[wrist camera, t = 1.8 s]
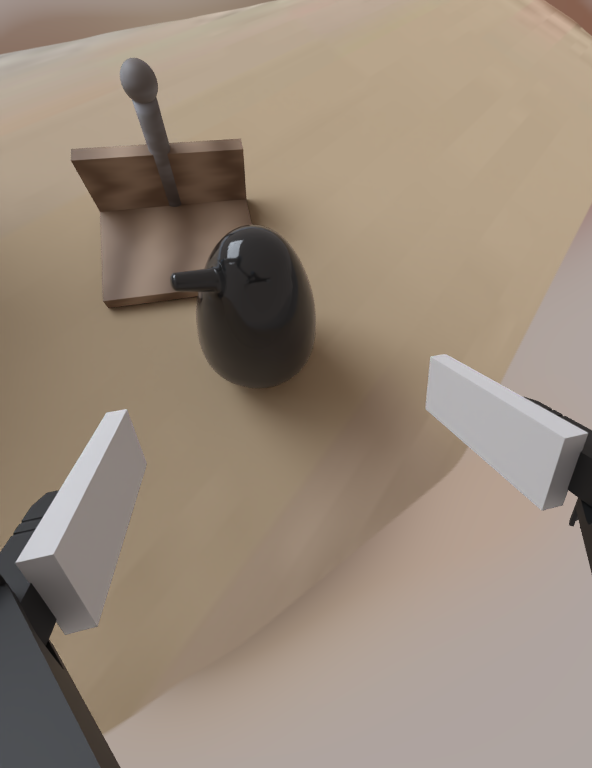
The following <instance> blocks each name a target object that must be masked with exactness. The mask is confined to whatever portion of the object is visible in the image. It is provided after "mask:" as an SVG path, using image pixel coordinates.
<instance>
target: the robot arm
mask: <svg viewBox="0 0 592 768" xmlns="http://www.w3.org/2000/svg"><path fill="white" fill-rule="evenodd" d="M426 410H427V411H428V412H430V413H431V414H432V415H433V416H434V417H435V418H436V419H438V420H439V421H440V422H441V423H442V424H443V425H444V426H446V427H447V428H448V429H449V430H450V431H451V432H452V433H454V434H455V435H456V436H457V437H458V438H459V439H460V440H462V441H463V442H464V443H465V444H466V445H467V446H468V447H470V448H471V449H472V450H473V451H474V452H475V453H476V454H478V455H479V456H480V457H481V458H482V459H483V460H484V461H486V462H487V463H488V464H489V465H490V466H491V467H493V468H494V469H495V470H496V471H497V472H498V473H499V474H501V475H502V476H503V477H504V478H505V479H506V480H507V481H509V482H510V483H511V484H512V485H513V486H514V487H515V488H517V489H518V490H519V491H520V492H521V493H523V495H525V496H526V497H527V498H528V499H529V500H530V501H531V502H533V503H534V504H535V505H536V506H537V507H538V508H539V509H541V510H546V509H550V508H554V507H558V506H562V505H563V503H564V500H565V497H566V495H567V492H568V490H569V491H570V492H572V493H573V494H575V495H576V496H577V497H578V500H577V502H576V505H575V507H574V510H573V513H572V515H571V518H570V522H569V525H570V526H574V524H575V521H577V520H579V523H580V528H581V532H582V536H583V540H584V544H585V548H586V552H587V556H588V560H589V564H590V568H591V572H592V430H590V429H588V428H586V427H584V426H583V425H581V424H579V423H577V422H575V421H574V420H572V419H570V418H568V417H566V416H563V415H562V414H561V413H559V412H557V411H555V410H552V409H551V408H549V407H548V406H546V405H544V404H542V403H540V402H538V401H535V400H532V399H529V398H526V397H523V396H521V395H519V394H517V393H515V392H513V391H511V390H510V389H508V388H506V387H504V386H503V385H501V384H499V383H497V382H495V381H494V380H492V379H490V378H488V377H486V376H485V375H483V374H481V373H479V372H477V371H475V370H474V369H472V368H470V367H468V366H466V365H465V364H463V363H461V362H459V361H457V360H456V359H454V358H452V357H450V356H448V355H447V354H443V355H437V356H431V357H430V366H429V376H428V387H427V398H426ZM146 465H147V463H146V460H145V457H144V454H143V452H142V449H141V446H140V443H139V441H138V438H137V435H136V432H135V430H134V427H133V424H132V421H131V419H130V416H129V413H128V410H127V409H124V410H118V411H113V412H107V413H106V414H105V416H104V418H103V419H102V421H101V423H100V424H99V426H98V427H97V429H96V431H95V432H94V434H93V436H92V437H91V439H90V441H89V442H88V444H87V446H86V447H85V449H84V451H83V452H82V454H81V455H80V457H79V459H78V460H77V462H76V464H75V465H74V467H73V469H72V470H71V472H70V474H69V475H68V477H67V478H66V480H65V482H64V483H63V485H62V487H61V488H60V490H58V491H53V492H48V493H46V494H45V495H44V496H43V497H41V498H40V499H39V500H38V501H37V502H36V503H35V504H34V505H32V506H31V508H30V509H29V511H28V512H27V514H26V515H25V517H24V518H23V520H22V523H21V524H19V525H18V527H17V528H16V530H15V531H14V533H13V534H14V535H13V536H11V537H10V539H9V540H8V542H7V543H6V545H5V546H4V548H3V549H2V551H1V552H0V768H120V766H119V764H118V762H117V761H116V759H115V757H114V755H113V753H112V751H111V750H110V748H109V746H108V744H107V742H106V740H105V739H104V737H103V735H102V733H101V731H100V729H99V728H98V726H97V724H96V722H95V720H94V719H93V717H92V715H91V713H90V711H89V709H88V708H87V706H86V704H85V702H84V700H83V699H82V697H81V695H80V693H79V691H78V689H77V688H76V686H75V684H74V682H73V680H72V678H71V677H70V675H69V673H68V671H67V669H66V668H65V666H64V664H63V662H62V660H61V658H60V657H59V655H58V653H57V651H56V649H55V648H54V646H53V644H52V643H51V642H50V640H49V637H50V635H51V633H52V630H53V628H54V625H55V623H56V622H57V624H58V625H59V627H60V628H61V629H62V631H63V632H64V634H65V635H67V634H71V633H75V632H78V631H82V630H86V629H90V628H94V627H98V623H99V620H100V617H101V613H102V610H103V607H104V604H105V600H106V597H107V594H108V590H109V587H110V584H111V580H112V577H113V574H114V571H115V567H116V564H117V561H118V557H119V554H120V551H121V548H122V544H123V541H124V538H125V534H126V531H127V528H128V525H129V521H130V518H131V515H132V511H133V508H134V505H135V502H136V498H137V495H138V492H139V488H140V485H141V482H142V479H143V475H144V472H145V469H146Z"/></svg>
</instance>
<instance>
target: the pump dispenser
mask: <svg viewBox="0 0 592 768" xmlns="http://www.w3.org/2000/svg"><path fill="white" fill-rule="evenodd" d="M170 284H171V287H172V289H173V290H174V291H176V292H198V296H197V306H196V321H197V331H198V337H199V342H200V346H201V349H202V351H203V354H204V356H205V358H206V360H207V362H208V363H209V365H210V366H211V367H212V368H213V369H214V370H215V371H216V372H217V373H218V374H219V375H220V376H221V377H223V378H224V379H226V380H228V381H230V382H232V383H234V384H237V385H240V386H243V387H249V388H266V387H272V386H276V385H279V384H281V383H283V382H285V381H287V380H289V379H291V378H292V377H294V376H295V375H296V374H297V373H298V372H299V371H300V370H301V369H302V368H303V367H304V366H305V364H306V363H307V361H308V359H309V357H310V355H311V352H312V349H313V345H314V341H315V331H316V314H315V304H314V298H313V293H312V289H311V286H310V283H309V280H308V277H307V274H306V272H305V270H304V267H303V265H302V263H301V261H300V259H299V257H298V256H297V254H296V252H295V251H294V249H293V248H292V247H291V245H290V244H289V243H288V242H287V241H286V240H285V239H284V238H283V237H282V236H281V235H280V234H278V233H277V232H275V231H274V230H272V229H270V228H267V227H264V226H260V225H245V226H241V227H238V228H236V229H233V230H232V231H230V232H229V233H227V234H226V235H225V236H224V237H223V238H222V239H221V240H220V241H219V242H218V243H217V245H216V246H215V247H214V249H213V250H212V252H211V254H210V256H209V258H208V260H207V263H206V265H205V268H204V269H200V270H192V271H184V272H177V273H172V274H171V276H170Z"/></svg>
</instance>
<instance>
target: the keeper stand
mask: <svg viewBox="0 0 592 768" xmlns="http://www.w3.org/2000/svg"><path fill="white" fill-rule="evenodd" d="M120 80H121V84H122V86H123V89H124V90H125V92H126V94H127V95H128V96H129V97H130V98H131V99H132V101H133V104H134V107H135V110H136V113H137V116H138V119H139V122H140V125H141V128H142V131H143V134H144V137H145V140H146V143H147V145H131V146H114V147H98V148H82V149H71V161H72V163H73V165H74V167H75V168H76V170H77V172H78V174H79V175H80V177H81V179H82V181H83V183H84V184H85V186H86V188H87V190H88V191H89V193H90V195H91V197H92V198H93V200H94V202H95V204H96V205H97V207H98V209H99V211H100V222H101V253H102V285H103V302H104V303H105V304H106V306H107V307H108V308H112V307H120V306H127V305H135V304H143V303H151V302H159V301H166V300H174V299H182V298H190V297H197V296H198V292H176V291H174V290H173V289H172V287H171V284H170V276H171V274H172V273H177V272H184V271H192V270H200V269H204V268H205V265H206V263H207V260H208V258H209V256H210V254H211V252H212V250H213V249H214V247H215V246H216V245H217V243H218V242H219V241H220V240H221V239H222V238H223V237H224V236H225V235H226V234H227V233H229V232H230V231H232V230H233V229H236V228H238V227H241V226H245V225H252V223H251V218H250V214H249V209H248V205H247V200H246V187H245V171H244V156H243V147H242V142H241V139H229V140H212V141H196V142H180V143H169V142H168V138H167V135H166V131H165V127H164V124H163V120H162V116H161V113H160V109H159V105H158V101H157V98H156V95H157V92H158V83H157V79H156V76H155V74H154V72H153V70H152V69H151V68H150V66H149V65H148V64H147V63H145V62H144V61H142V60H140V59H138V58H130V59H127V60H126V61H125V62H124V63H123V64H122V66H121V70H120Z"/></svg>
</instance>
